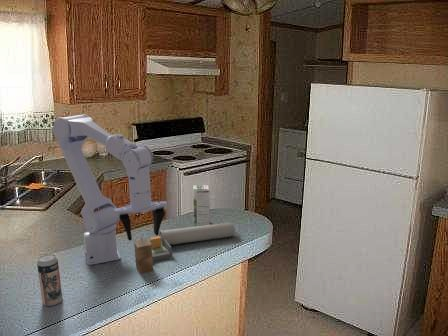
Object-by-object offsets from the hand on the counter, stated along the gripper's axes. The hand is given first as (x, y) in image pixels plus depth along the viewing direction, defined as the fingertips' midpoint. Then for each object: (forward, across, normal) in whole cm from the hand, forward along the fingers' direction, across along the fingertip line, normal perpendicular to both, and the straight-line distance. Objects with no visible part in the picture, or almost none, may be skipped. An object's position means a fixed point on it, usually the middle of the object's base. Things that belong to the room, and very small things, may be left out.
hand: (143, 236), depth 120 cm
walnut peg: (+10, 0, 0) cm, 10 cm away
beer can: (+10, -25, -7) cm, 28 cm away
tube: (+10, +21, +11) cm, 26 cm away
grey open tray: (+10, +6, +9) cm, 15 cm away
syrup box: (+10, +27, +23) cm, 37 cm away
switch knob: (+8, +6, +9) cm, 14 cm away
